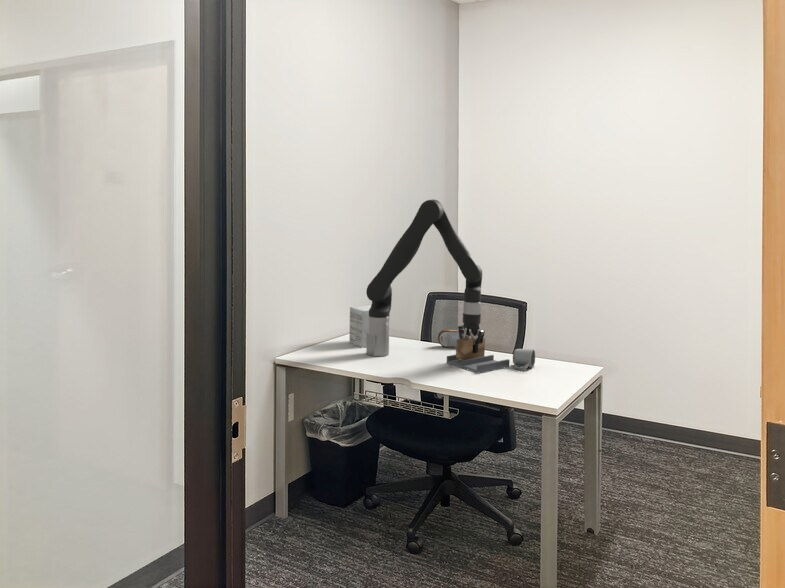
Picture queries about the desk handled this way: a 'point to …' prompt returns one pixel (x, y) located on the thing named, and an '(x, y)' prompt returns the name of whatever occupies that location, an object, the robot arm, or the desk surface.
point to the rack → (478, 363)
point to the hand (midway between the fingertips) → (470, 351)
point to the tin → (448, 337)
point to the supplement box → (359, 325)
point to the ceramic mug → (523, 358)
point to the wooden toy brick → (468, 349)
